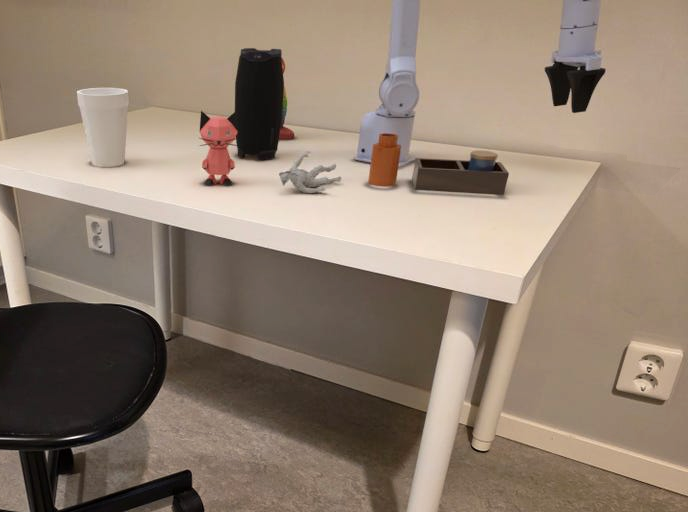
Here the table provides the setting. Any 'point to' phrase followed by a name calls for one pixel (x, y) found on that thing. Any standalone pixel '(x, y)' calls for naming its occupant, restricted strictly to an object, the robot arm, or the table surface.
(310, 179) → the soldier figure
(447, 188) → the divided storage box
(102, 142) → the foam cup
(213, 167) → the cat figurine
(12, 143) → the table surface
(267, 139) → the portable speaker
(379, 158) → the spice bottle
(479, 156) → the blue jar
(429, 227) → the table surface
